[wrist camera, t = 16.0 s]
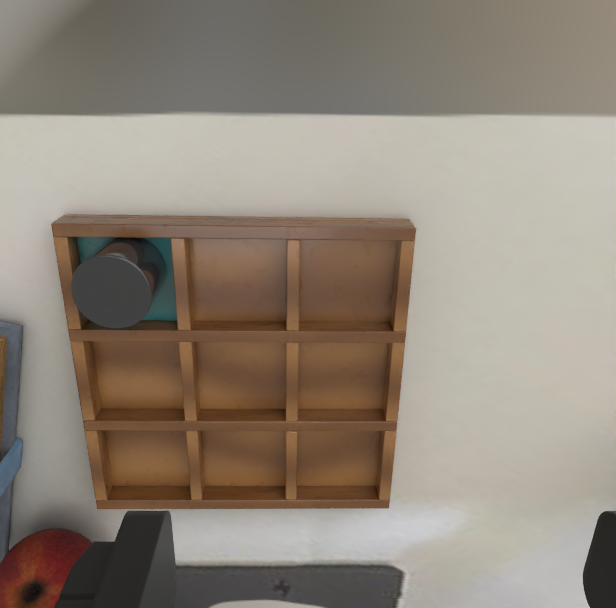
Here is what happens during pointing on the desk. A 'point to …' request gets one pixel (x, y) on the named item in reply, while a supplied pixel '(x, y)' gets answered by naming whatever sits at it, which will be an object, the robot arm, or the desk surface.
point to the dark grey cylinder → (119, 282)
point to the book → (8, 422)
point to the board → (246, 362)
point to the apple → (39, 568)
